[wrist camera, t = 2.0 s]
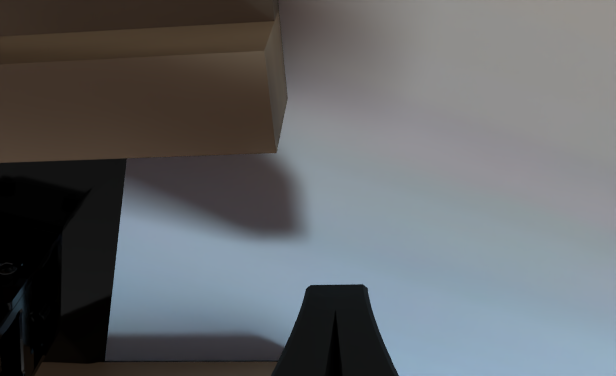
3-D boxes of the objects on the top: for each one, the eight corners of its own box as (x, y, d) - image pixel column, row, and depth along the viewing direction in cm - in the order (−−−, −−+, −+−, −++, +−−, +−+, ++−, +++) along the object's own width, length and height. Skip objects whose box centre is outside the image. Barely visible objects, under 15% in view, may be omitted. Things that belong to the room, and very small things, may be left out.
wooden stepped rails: (323, 463, 21) (321, 534, 19) (-67, 458, 22) (-110, 524, 20) (254, -233, 9) (228, -251, 7) (-567, -154, 10) (-794, -149, 8)
